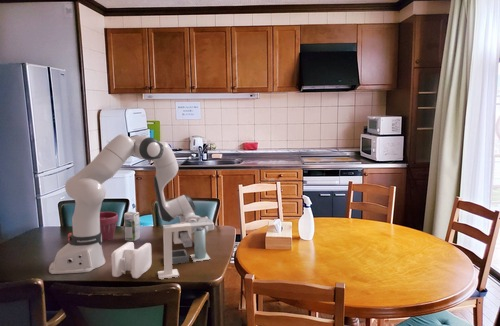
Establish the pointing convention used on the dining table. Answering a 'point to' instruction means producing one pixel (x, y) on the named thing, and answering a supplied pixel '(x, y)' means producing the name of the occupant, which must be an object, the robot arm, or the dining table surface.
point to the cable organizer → (131, 260)
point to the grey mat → (199, 259)
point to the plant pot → (108, 224)
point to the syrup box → (132, 226)
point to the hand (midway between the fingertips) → (196, 231)
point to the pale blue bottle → (199, 243)
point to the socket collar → (179, 256)
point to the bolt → (185, 238)
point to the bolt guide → (167, 238)
